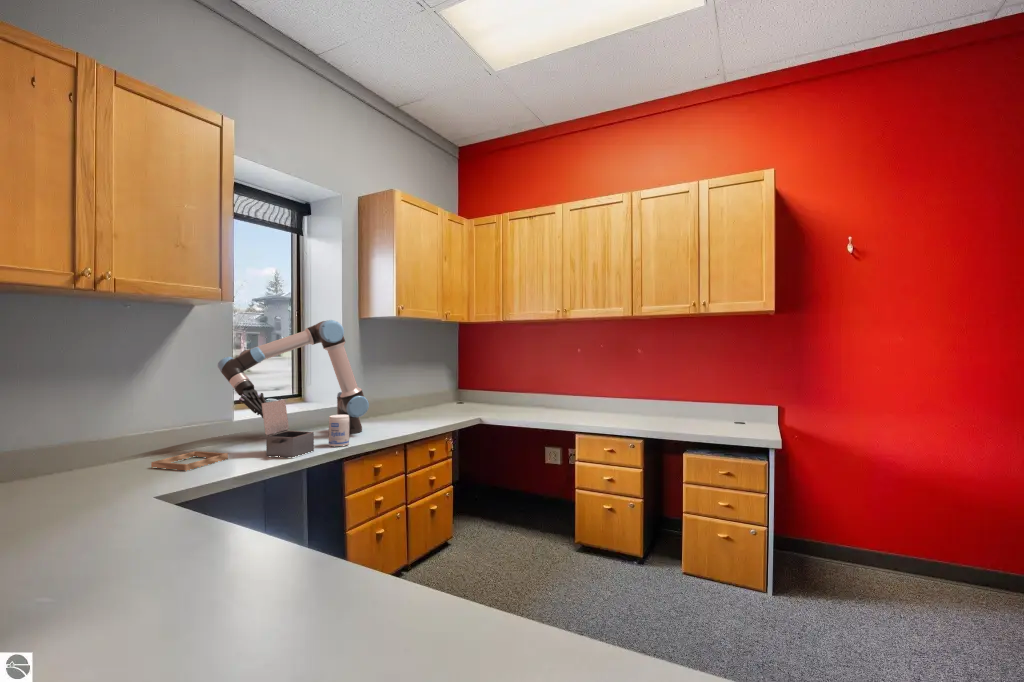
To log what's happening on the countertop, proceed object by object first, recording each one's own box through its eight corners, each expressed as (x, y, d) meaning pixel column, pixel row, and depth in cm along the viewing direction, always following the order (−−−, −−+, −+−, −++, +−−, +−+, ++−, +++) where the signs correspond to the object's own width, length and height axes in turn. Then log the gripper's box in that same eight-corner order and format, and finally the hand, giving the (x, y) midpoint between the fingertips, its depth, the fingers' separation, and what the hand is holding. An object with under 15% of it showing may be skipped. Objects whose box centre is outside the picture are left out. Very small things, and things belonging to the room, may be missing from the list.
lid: (289, 430, 228) (286, 430, 229) (285, 399, 229) (282, 399, 229) (267, 436, 215) (264, 436, 215) (263, 403, 215) (260, 403, 216)
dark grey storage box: (291, 448, 231) (291, 429, 231) (317, 450, 227) (316, 431, 227) (262, 457, 213) (262, 437, 213) (289, 459, 209) (289, 439, 209)
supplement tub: (330, 448, 231) (329, 417, 231) (327, 444, 239) (327, 415, 239) (351, 446, 236) (350, 416, 236) (347, 442, 244) (347, 413, 244)
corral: (195, 456, 215) (195, 451, 215) (227, 459, 210) (227, 453, 210) (151, 468, 196) (151, 462, 196) (186, 471, 191) (186, 464, 191)
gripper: (248, 388, 233) (276, 425, 229) (226, 391, 221) (255, 430, 217) (257, 378, 232) (286, 414, 228) (235, 380, 219) (265, 419, 215)
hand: (271, 422), depth 222 cm, fingers closed
